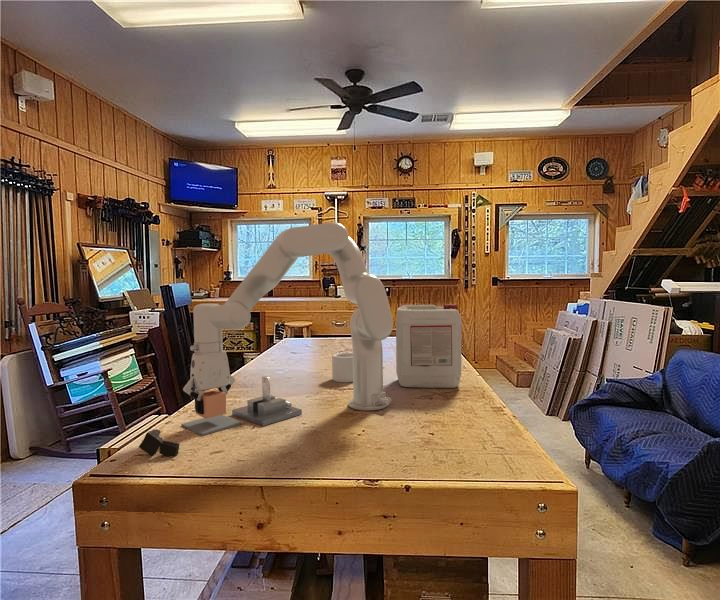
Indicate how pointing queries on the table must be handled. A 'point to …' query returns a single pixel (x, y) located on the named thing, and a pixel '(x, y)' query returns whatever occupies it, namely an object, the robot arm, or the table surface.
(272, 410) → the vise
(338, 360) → the mug
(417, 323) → the jerry can
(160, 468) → the table surface
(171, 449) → the lighter
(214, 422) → the mat
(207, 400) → the collar
